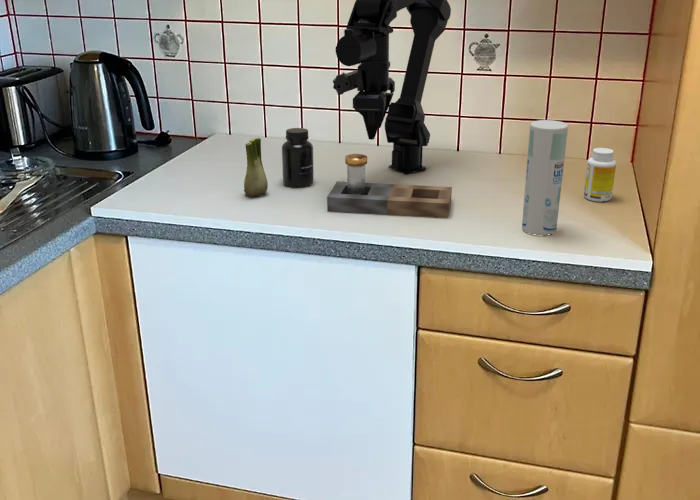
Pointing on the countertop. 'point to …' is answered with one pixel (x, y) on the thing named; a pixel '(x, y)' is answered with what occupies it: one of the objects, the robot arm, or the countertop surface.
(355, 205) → the pin dock plate
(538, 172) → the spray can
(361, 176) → the lock pin
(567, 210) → the countertop surface
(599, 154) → the supplement bottle
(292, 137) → the supplement bottle
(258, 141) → the fennel bulb
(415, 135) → the robot arm
